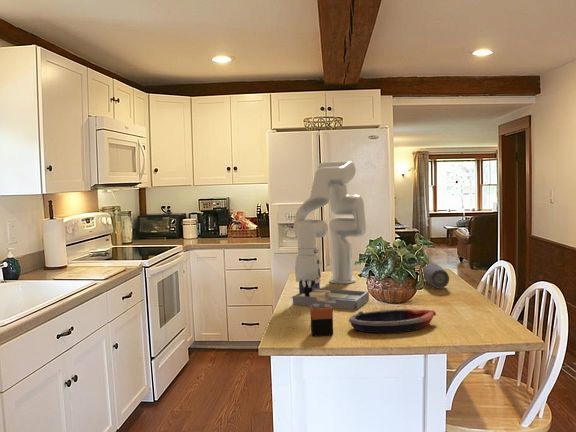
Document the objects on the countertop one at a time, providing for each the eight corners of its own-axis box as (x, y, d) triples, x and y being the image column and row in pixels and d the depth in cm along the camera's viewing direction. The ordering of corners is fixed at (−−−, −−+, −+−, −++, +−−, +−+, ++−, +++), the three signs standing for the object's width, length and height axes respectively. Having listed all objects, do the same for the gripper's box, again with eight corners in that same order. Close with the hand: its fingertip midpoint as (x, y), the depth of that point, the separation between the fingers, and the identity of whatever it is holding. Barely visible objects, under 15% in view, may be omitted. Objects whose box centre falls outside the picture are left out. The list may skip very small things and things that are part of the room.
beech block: (315, 296, 209) (315, 289, 209) (330, 297, 206) (330, 290, 206) (309, 300, 203) (309, 292, 203) (324, 301, 201) (324, 294, 200)
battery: (310, 332, 168) (310, 303, 167) (331, 331, 168) (330, 302, 167) (312, 336, 163) (311, 306, 163) (333, 335, 164) (332, 305, 163)
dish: (343, 324, 176) (343, 310, 176) (427, 318, 181) (427, 304, 180) (355, 338, 161) (355, 323, 161) (446, 331, 165) (446, 316, 165)
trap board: (308, 295, 221) (308, 287, 220) (368, 299, 209) (368, 291, 209) (293, 304, 206) (292, 295, 205) (356, 309, 194) (356, 300, 194)
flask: (319, 292, 226) (319, 268, 225) (320, 293, 223) (319, 269, 222) (299, 292, 227) (298, 268, 226) (299, 294, 224) (298, 270, 223)
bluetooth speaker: (417, 280, 243) (417, 260, 242) (437, 280, 243) (437, 259, 242) (429, 291, 220) (428, 268, 220) (450, 290, 220) (450, 268, 219)
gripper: (327, 251, 206) (328, 295, 207) (294, 250, 213) (295, 293, 214) (320, 254, 199) (321, 299, 201) (286, 252, 206) (288, 297, 207)
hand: (308, 296), depth 207 cm, fingers closed
